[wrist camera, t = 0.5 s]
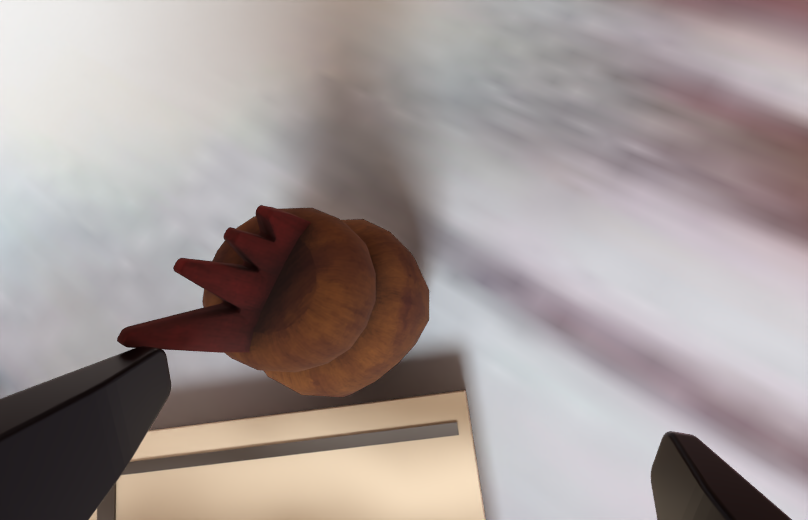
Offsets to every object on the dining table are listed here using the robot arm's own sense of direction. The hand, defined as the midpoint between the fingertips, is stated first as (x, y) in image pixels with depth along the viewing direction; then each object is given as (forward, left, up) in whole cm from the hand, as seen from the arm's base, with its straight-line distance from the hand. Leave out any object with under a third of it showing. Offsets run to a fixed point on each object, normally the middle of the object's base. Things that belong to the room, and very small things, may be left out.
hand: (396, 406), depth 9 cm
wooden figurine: (+4, +3, -14) cm, 15 cm away
